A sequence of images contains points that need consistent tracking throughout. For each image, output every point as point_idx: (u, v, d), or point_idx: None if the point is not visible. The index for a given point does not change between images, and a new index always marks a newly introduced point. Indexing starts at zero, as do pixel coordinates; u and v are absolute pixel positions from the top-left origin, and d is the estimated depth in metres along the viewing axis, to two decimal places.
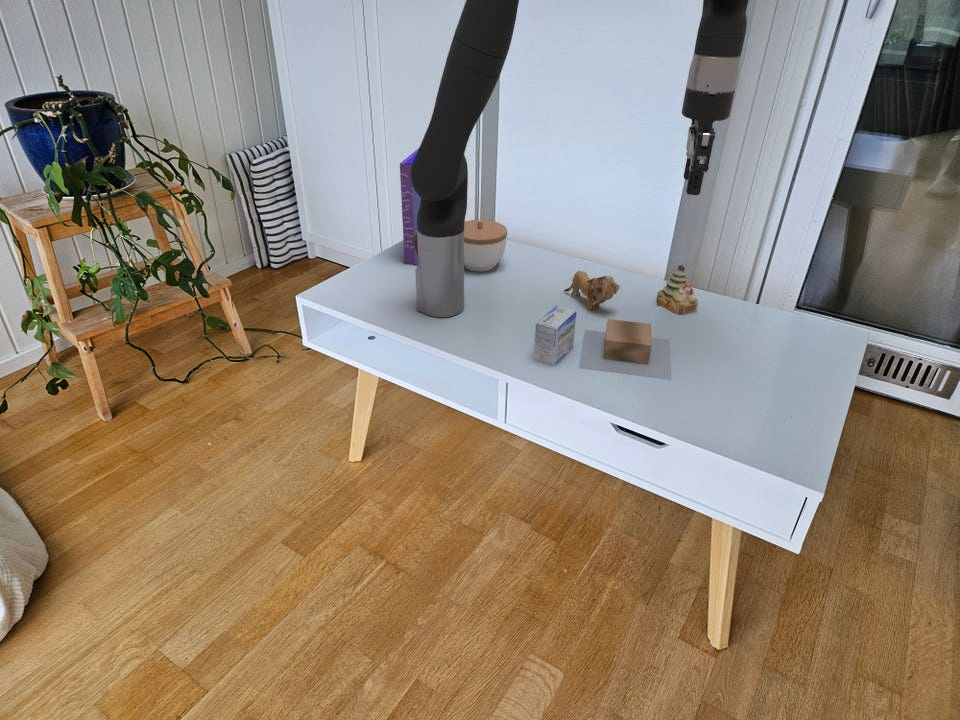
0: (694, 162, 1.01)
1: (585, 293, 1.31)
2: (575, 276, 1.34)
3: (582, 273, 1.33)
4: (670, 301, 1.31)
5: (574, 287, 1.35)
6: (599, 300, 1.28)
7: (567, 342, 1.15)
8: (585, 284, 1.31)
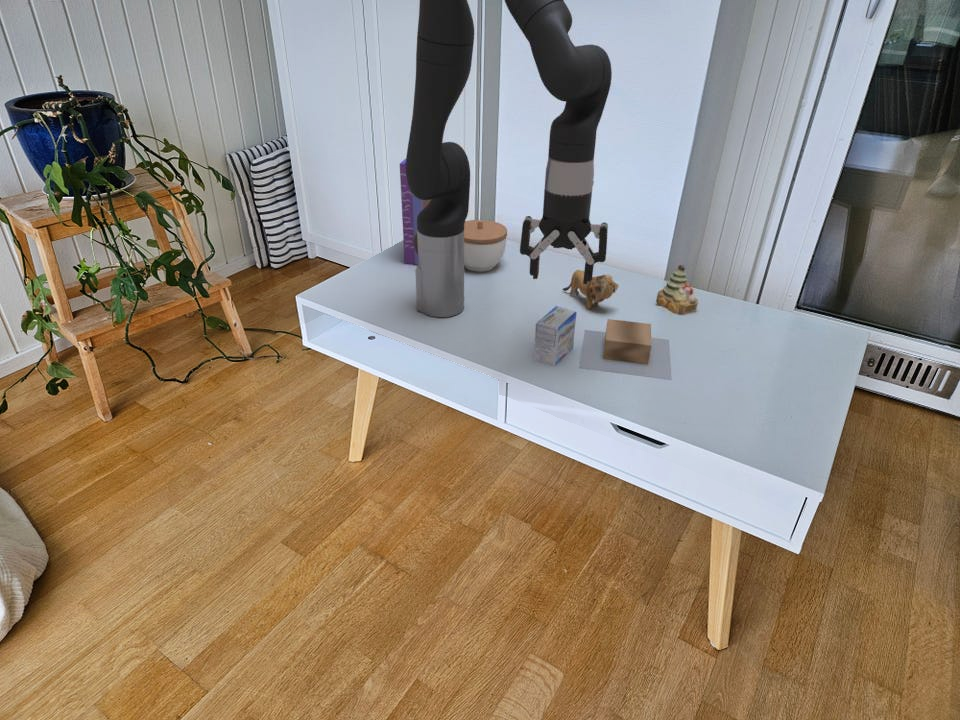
0: (605, 253, 1.04)
1: (584, 292, 1.31)
2: (573, 275, 1.34)
3: (581, 272, 1.33)
4: (670, 301, 1.31)
5: (573, 286, 1.35)
6: (598, 299, 1.28)
7: (567, 342, 1.15)
8: None
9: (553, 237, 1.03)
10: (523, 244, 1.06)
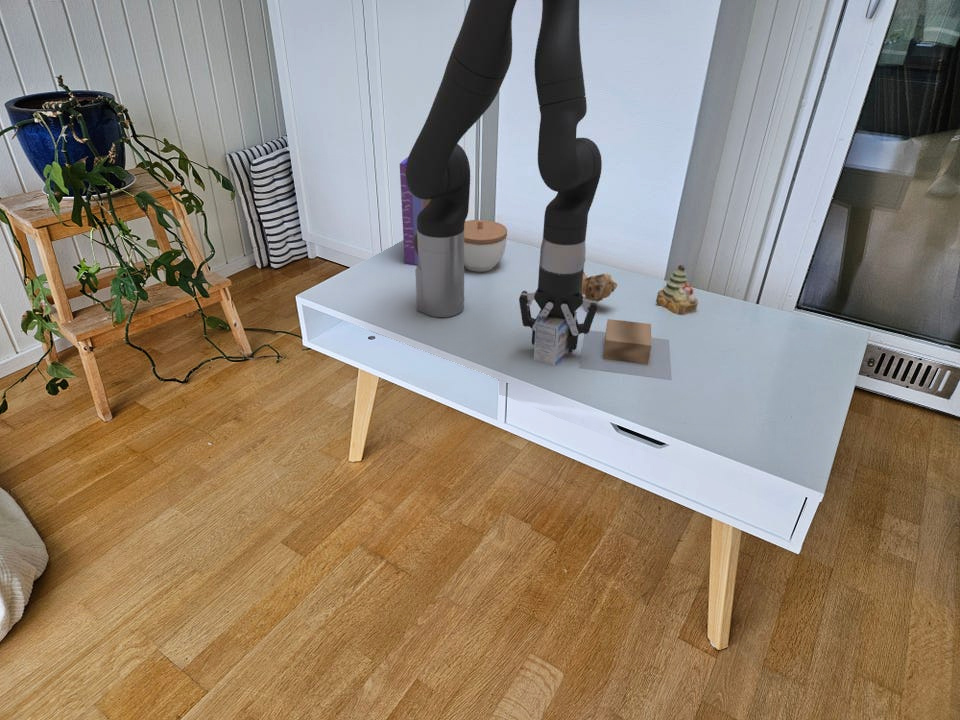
0: None
1: (583, 291, 1.32)
2: None
3: None
4: (670, 301, 1.31)
5: None
6: (597, 298, 1.29)
7: (567, 342, 1.15)
8: (582, 282, 1.31)
9: (548, 309, 1.10)
10: (524, 317, 1.13)
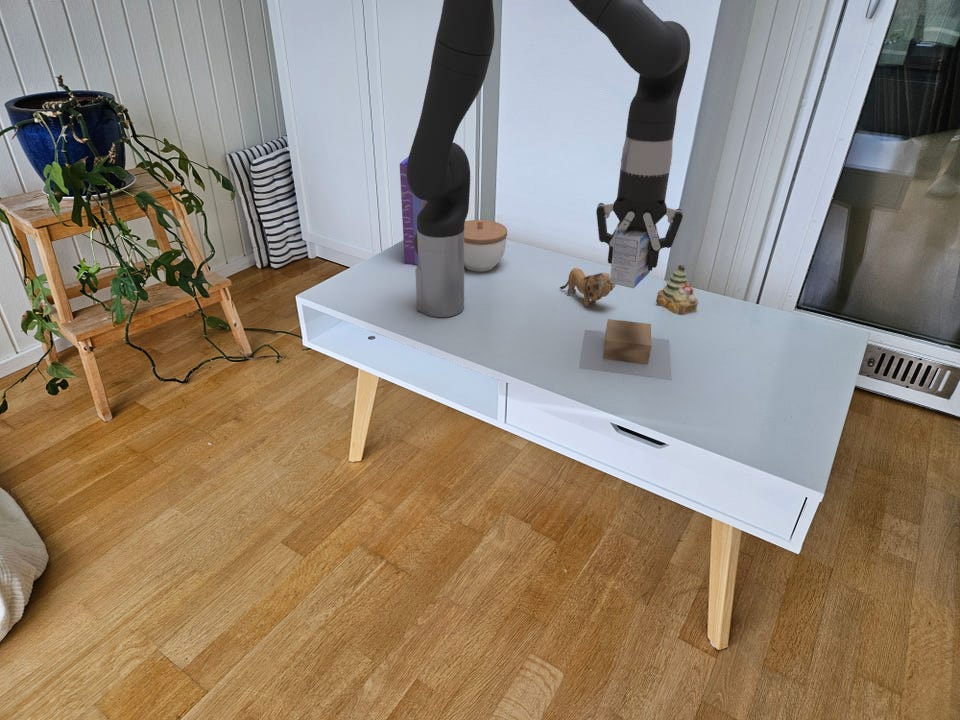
0: (673, 240, 1.03)
1: (581, 290, 1.32)
2: (571, 273, 1.35)
3: (578, 270, 1.34)
4: (670, 301, 1.31)
5: (570, 284, 1.36)
6: (596, 297, 1.29)
7: (646, 259, 1.07)
8: (581, 281, 1.32)
9: (629, 219, 1.02)
10: (601, 231, 1.05)
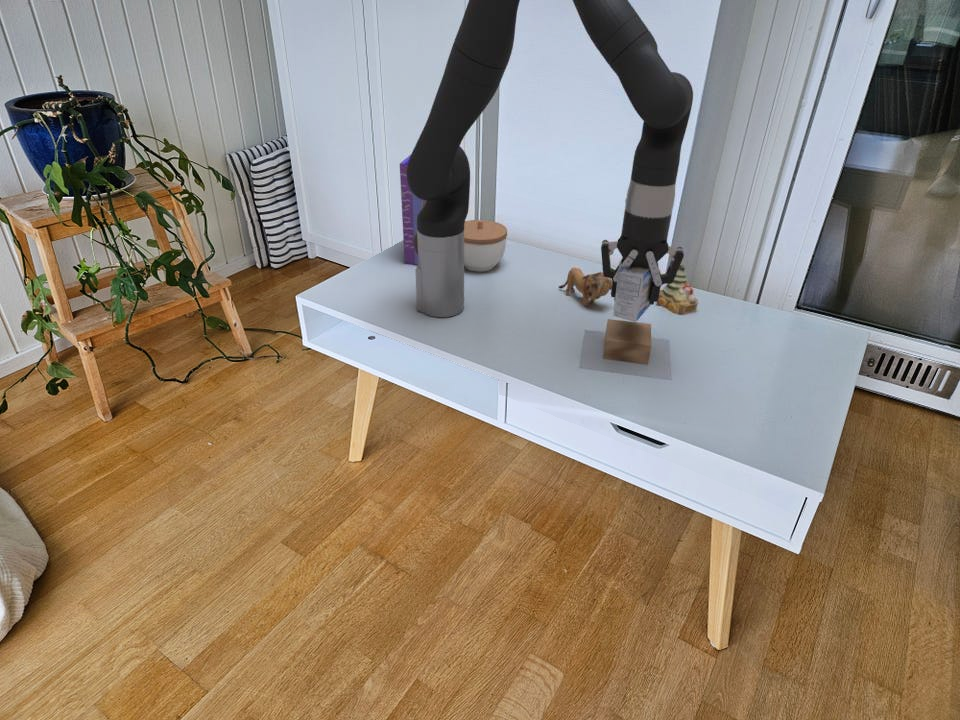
0: (674, 277, 1.07)
1: (580, 289, 1.32)
2: (570, 273, 1.35)
3: (577, 270, 1.34)
4: (670, 301, 1.31)
5: (569, 284, 1.36)
6: (594, 296, 1.29)
7: (648, 294, 1.11)
8: (580, 280, 1.32)
9: (632, 257, 1.06)
10: (605, 267, 1.09)
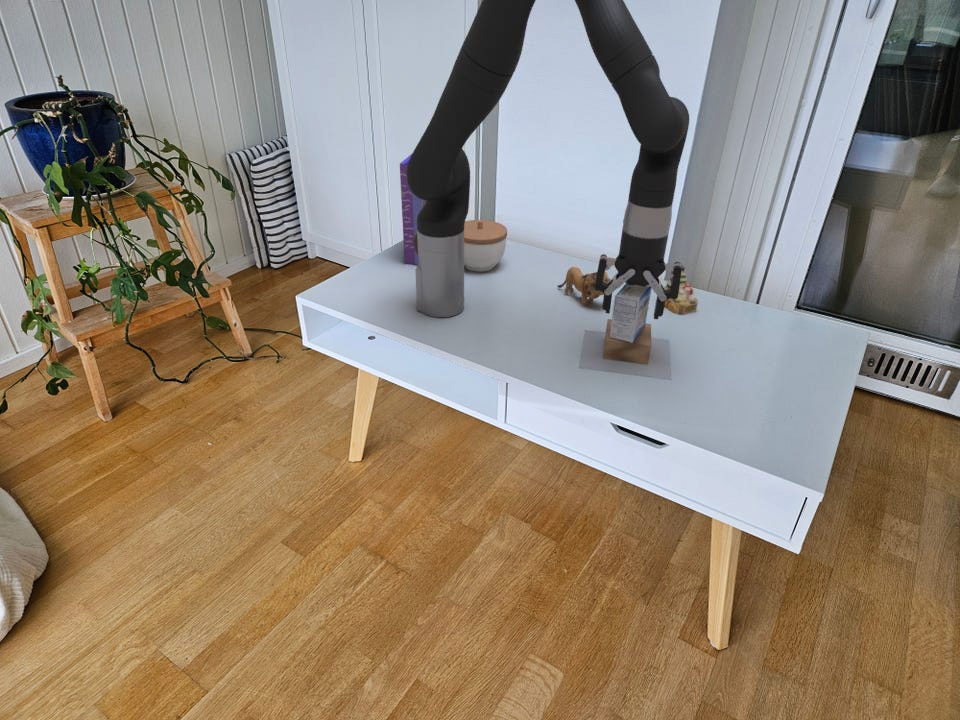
0: None
1: (579, 289, 1.33)
2: (568, 272, 1.36)
3: (576, 269, 1.35)
4: (670, 301, 1.31)
5: (568, 283, 1.36)
6: (593, 295, 1.30)
7: (643, 315, 1.14)
8: (579, 279, 1.32)
9: (629, 275, 1.08)
10: (598, 281, 1.11)
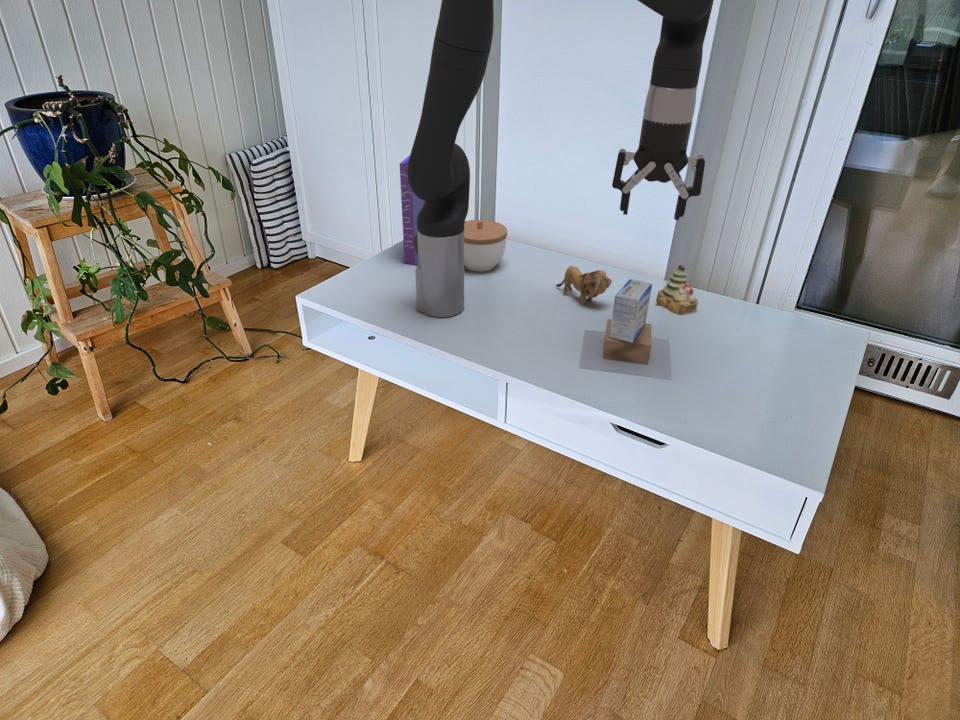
0: None
1: (578, 288, 1.33)
2: (567, 271, 1.36)
3: (574, 268, 1.35)
4: (670, 301, 1.31)
5: (566, 282, 1.36)
6: (592, 294, 1.30)
7: (643, 315, 1.14)
8: (577, 278, 1.33)
9: (649, 169, 1.02)
10: (616, 177, 1.05)
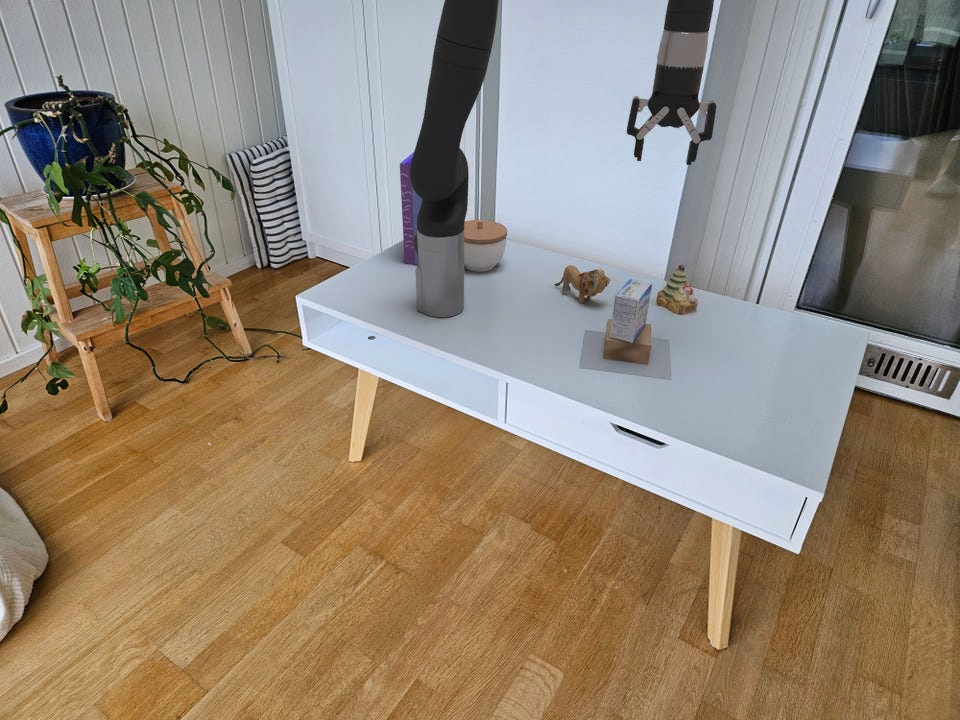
0: (712, 131, 1.07)
1: (576, 287, 1.33)
2: (565, 270, 1.36)
3: (573, 267, 1.35)
4: (670, 301, 1.31)
5: (565, 281, 1.37)
6: (591, 293, 1.31)
7: (643, 315, 1.14)
8: (576, 278, 1.33)
9: (662, 114, 1.07)
10: (631, 124, 1.09)
